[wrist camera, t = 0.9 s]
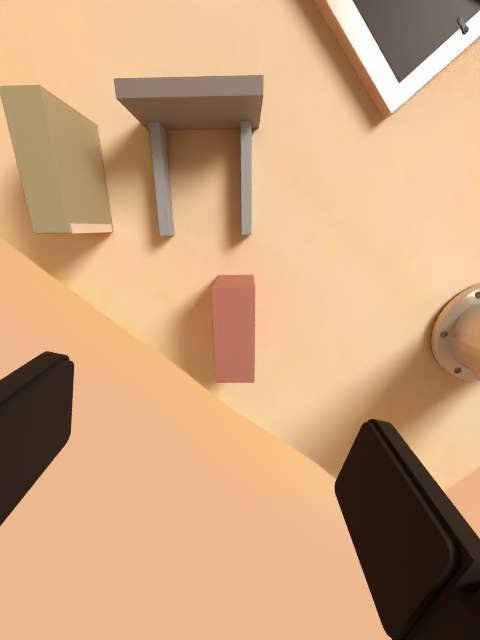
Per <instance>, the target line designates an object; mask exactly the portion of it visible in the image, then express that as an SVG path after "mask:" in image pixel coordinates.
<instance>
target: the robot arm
mask: <svg viewBox="0 0 480 640" xmlns="http://www.w3.org/2000/svg"><path fill="white" fill-rule="evenodd" d="M431 346H432V352H433V354H434V357H435V359H436V361H437V362H438V363H439V365H440V366H441V367H443V368H444V369H445V370H446V371H448V372H449V373H450V374H452V375H454V376H456V377H458V378H461V379H465V380H471V381H480V284H477V285H474V286H472V287H470V288H468V289H467V290H465V291H463V292H461V293H460V294H459V295H457V296H456V297H455V298H453V299H452V300H451V301H450V302H449V303H448V305H447V306H446V307H445V308H444V309H443V311H442V312H441V313H440V315H439V316H438V318H437V321H436V323H435V325H434V328H433V331H432V337H431ZM73 378H74V363H73V362H72V361H70V360H69V357H68V356H67V355H63V354H58V353H53V352H47V351H46V352H44V353H42V354H40V355H39V356H37V357H36V358H34V359H32V360H31V361H29V362H28V363H26V364H25V365H23V366H21V367H20V368H18V369H17V370H15V371H14V372H12V373H11V374H9V375H8V376H6V377H4V378H3V379H1V380H0V526H1V524H2V523H3V522H4V521H5V519H6V518H7V517H8V516H9V514H10V513H11V512H12V511H13V509H14V508H15V507H16V506H17V504H18V503H19V502H20V501H21V499H22V498H23V497H24V496H25V494H26V493H27V492H28V490H29V489H30V488H31V487H32V486H33V484H34V483H35V482H36V481H37V479H38V478H39V477H40V476H41V474H42V473H43V472H44V471H45V469H46V468H47V467H48V466H49V464H50V463H51V462H52V461H53V459H54V458H55V457H56V456H57V454H58V453H59V452H60V451H61V449H62V448H63V447H64V446H65V444H66V443H67V441H68V439H69V436H70V433H71V418H72V398H73ZM335 494H336V497H337V500H338V502H339V505H340V508H341V511H342V514H343V516H344V519H345V522H346V525H347V528H348V531H349V533H350V536H351V539H352V542H353V544H354V547H355V550H356V553H357V556H358V558H359V561H360V564H361V567H362V570H363V572H364V575H365V578H366V581H367V583H368V587H369V589H370V592H371V595H372V598H373V601H374V603H375V606H376V609H377V611H378V614H379V617H380V620H381V623H382V625H383V628H384V630H385V632H386V633H387V635H388V636H389V637H391V638H392V640H480V539H479V537H478V536H477V535H476V533H475V532H474V531H473V529H472V528H471V527H470V526H469V524H468V523H467V522H466V520H465V519H464V518H463V516H462V515H461V514H460V513H459V511H458V510H457V509H456V507H455V506H454V505H453V503H452V502H451V501H450V499H449V498H448V497H447V496H446V494H445V493H444V492H443V490H442V489H441V488H440V486H439V485H438V484H437V482H436V481H435V480H434V479H433V477H432V476H431V475H430V473H429V472H428V471H427V469H426V468H425V467H424V466H423V464H422V463H421V462H420V460H419V459H418V458H417V456H416V455H415V454H414V453H413V451H412V450H411V449H410V447H409V446H408V445H407V443H406V442H405V441H404V440H403V438H402V437H401V436H400V434H399V433H398V432H397V430H396V429H395V428H394V427H393V425H392V424H391V423H389V422H385V421H380V420H375V419H370V420H369V421H368V422H365V423H363V425H362V426H361V429H360V431H359V433H358V435H357V437H356V439H355V441H354V443H353V446H352V448H351V450H350V452H349V454H348V456H347V458H346V460H345V462H344V465H343V467H342V469H341V471H340V473H339V475H338V477H337V479H336V482H335Z"/></svg>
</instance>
